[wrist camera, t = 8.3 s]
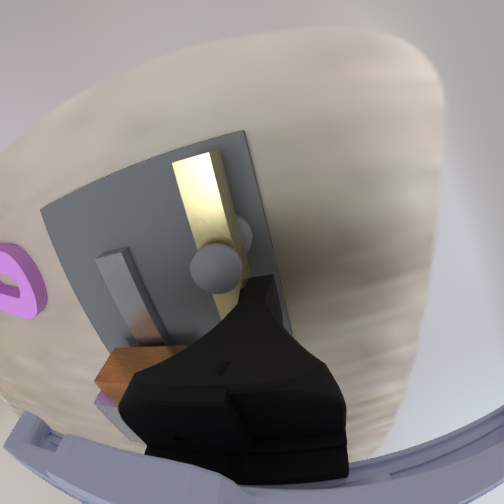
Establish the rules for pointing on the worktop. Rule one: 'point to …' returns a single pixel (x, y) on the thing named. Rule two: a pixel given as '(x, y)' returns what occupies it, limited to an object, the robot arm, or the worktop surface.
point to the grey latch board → (160, 242)
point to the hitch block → (129, 318)
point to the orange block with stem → (130, 366)
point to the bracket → (21, 283)
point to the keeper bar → (212, 214)
